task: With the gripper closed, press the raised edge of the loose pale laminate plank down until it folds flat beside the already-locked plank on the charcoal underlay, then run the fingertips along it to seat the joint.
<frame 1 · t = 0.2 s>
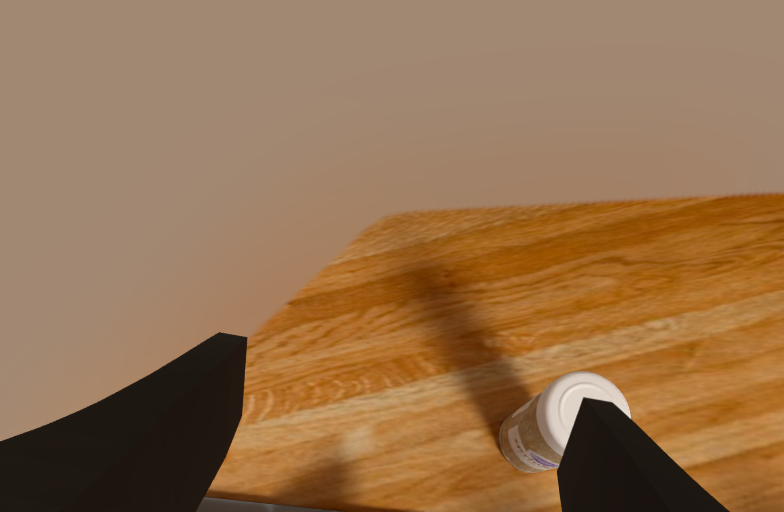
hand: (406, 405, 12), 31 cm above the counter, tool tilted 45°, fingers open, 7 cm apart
sprinkles bottle: (528, 441, 41), on the counter
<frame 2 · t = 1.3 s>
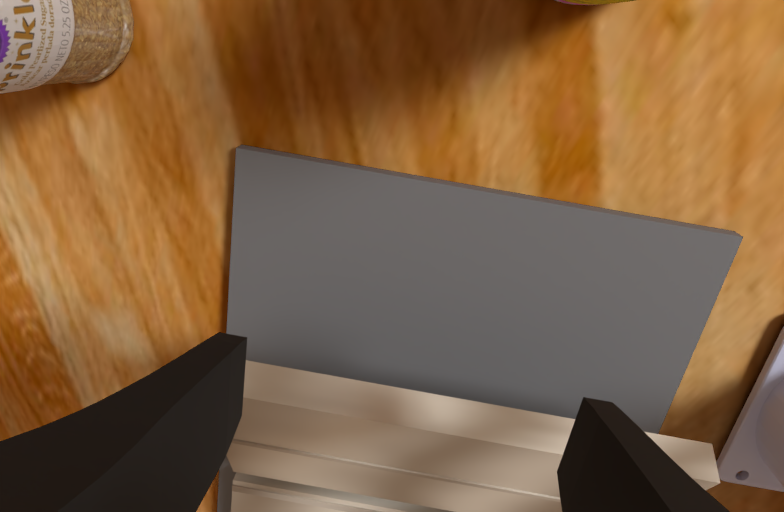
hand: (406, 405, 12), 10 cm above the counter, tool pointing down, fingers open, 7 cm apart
sprinkles bottle: (76, 11, 19), on the counter
underlay: (429, 434, 24), on the counter
loose plank: (436, 460, 20), point 3 cm above the counter, hinge at 30.0°
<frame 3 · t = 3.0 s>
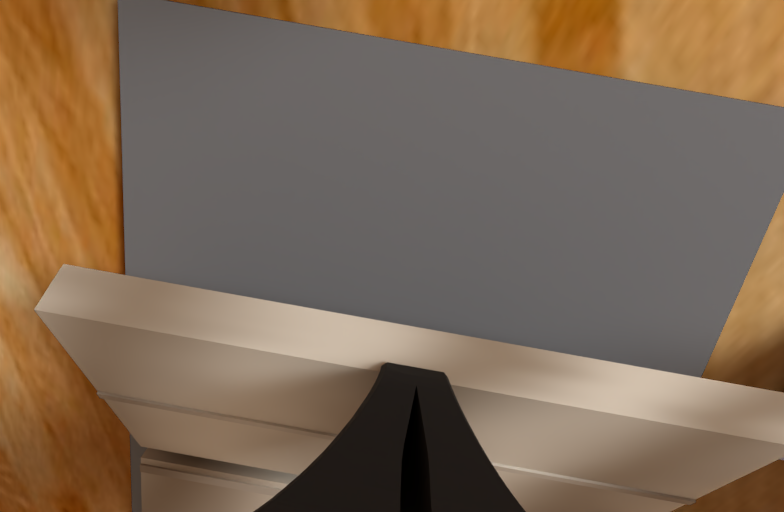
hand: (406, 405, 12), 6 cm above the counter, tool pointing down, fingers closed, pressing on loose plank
underlay: (396, 399, 19), on the counter
loose plank: (397, 426, 15), point 3 cm above the counter, hinge at 29.9°, touching gripper
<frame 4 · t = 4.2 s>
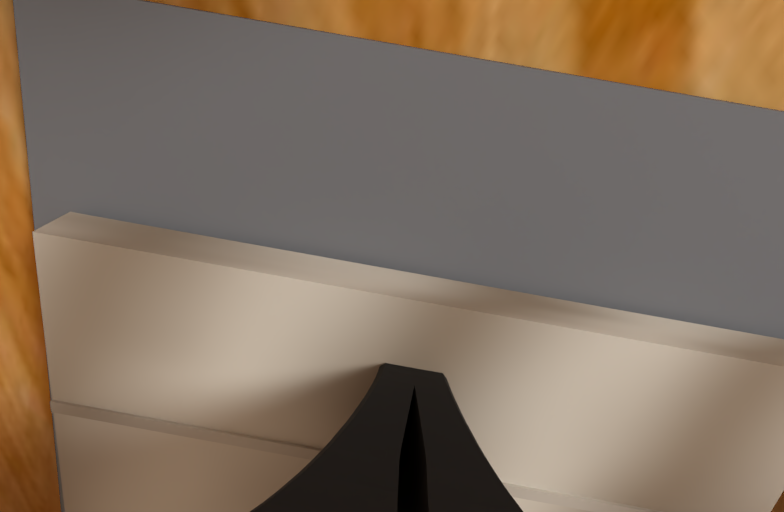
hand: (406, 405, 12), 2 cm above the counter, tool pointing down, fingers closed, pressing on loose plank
underlay: (390, 489, 15), on the counter
loose plank: (403, 450, 13), point 1 cm above the counter, hinge at 1.5°, touching gripper
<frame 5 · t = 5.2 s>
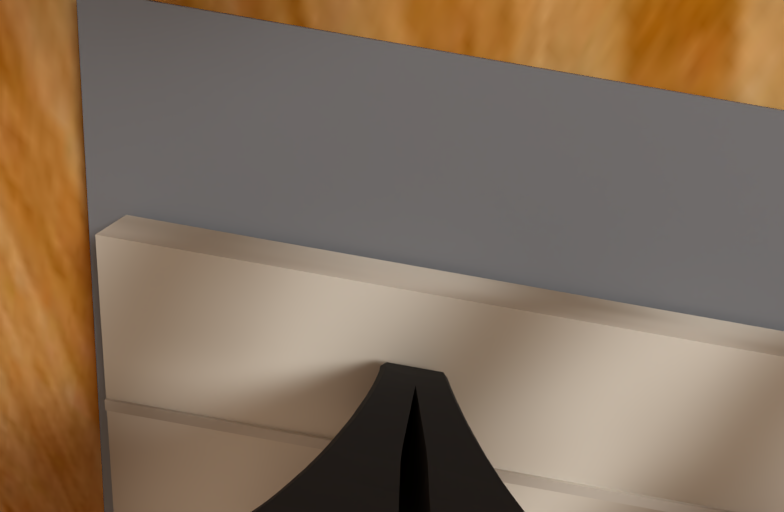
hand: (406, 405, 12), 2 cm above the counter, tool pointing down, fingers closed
underlay: (428, 485, 16), on the counter
loose plank: (447, 447, 13), point 1 cm above the counter, hinge at 1.5°
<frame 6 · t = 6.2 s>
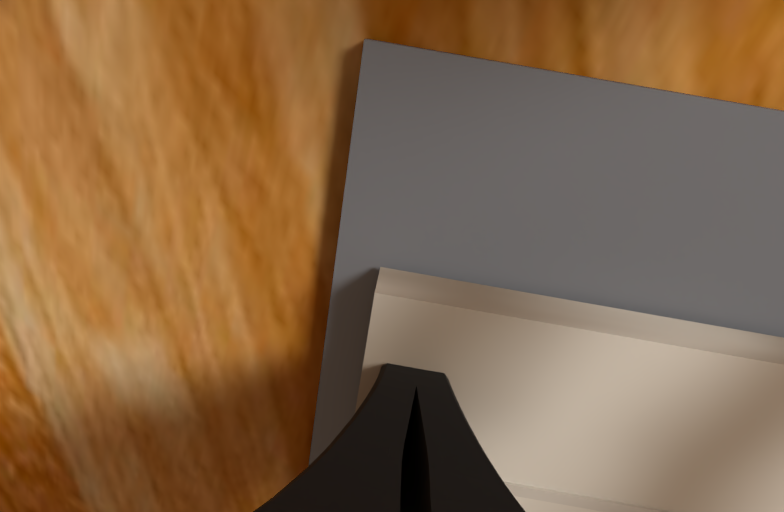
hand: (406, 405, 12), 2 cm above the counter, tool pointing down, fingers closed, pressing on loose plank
loose plank: (690, 501, 13), point 1 cm above the counter, hinge at 1.5°, touching gripper
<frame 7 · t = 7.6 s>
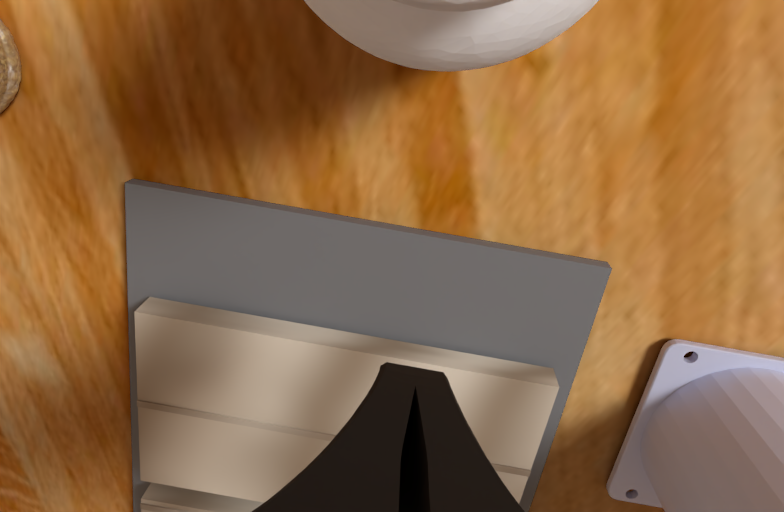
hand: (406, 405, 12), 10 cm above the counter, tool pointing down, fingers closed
underlay: (333, 453, 25), on the counter
loose plank: (335, 427, 23), point 1 cm above the counter, hinge at 1.5°
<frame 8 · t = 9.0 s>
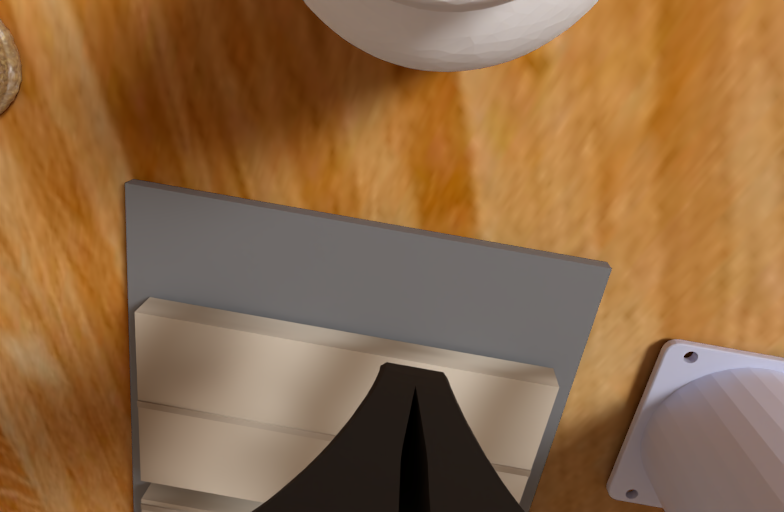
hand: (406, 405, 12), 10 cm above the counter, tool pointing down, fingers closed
underlay: (333, 453, 25), on the counter
loose plank: (335, 428, 23), point 1 cm above the counter, hinge at 1.5°
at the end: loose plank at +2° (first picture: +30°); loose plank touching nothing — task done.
